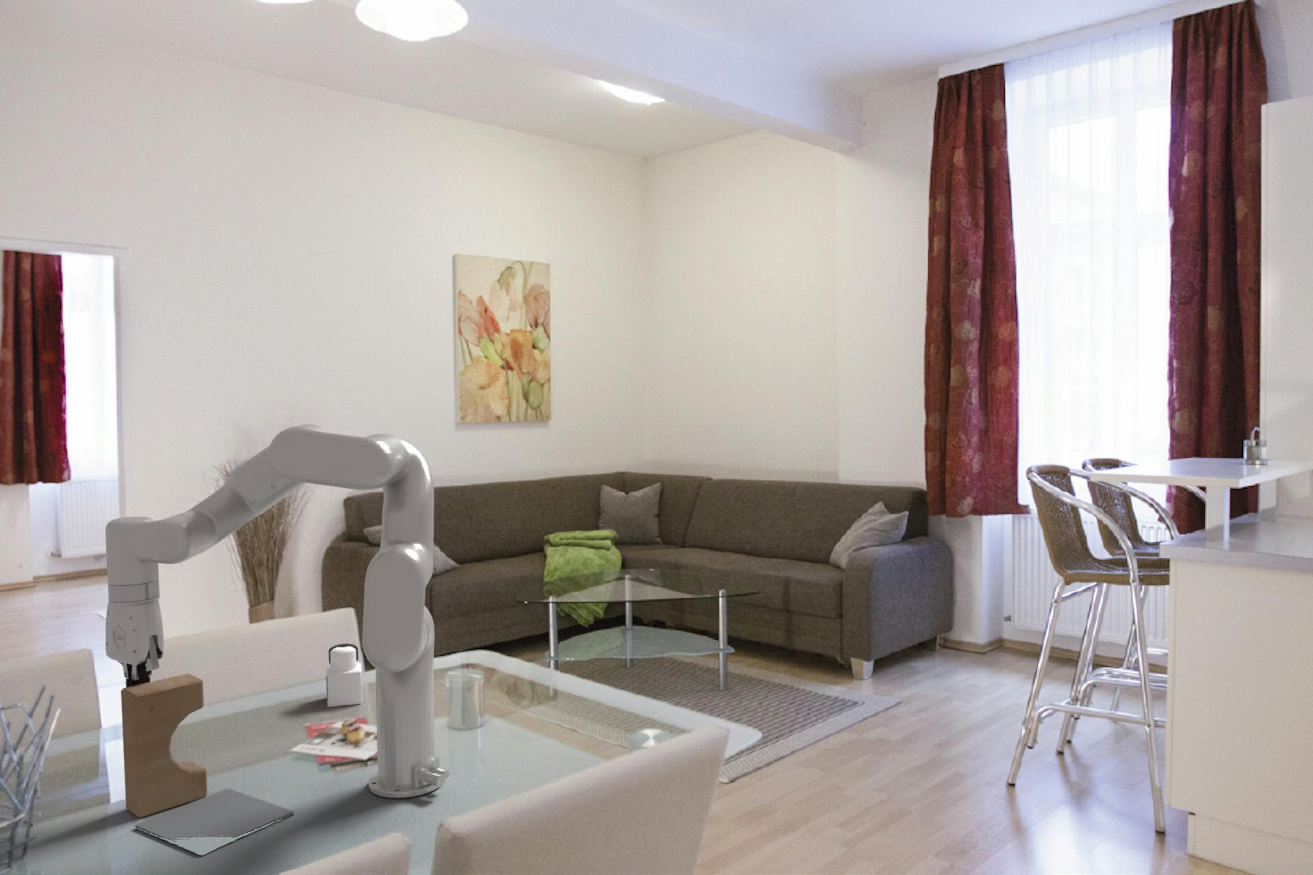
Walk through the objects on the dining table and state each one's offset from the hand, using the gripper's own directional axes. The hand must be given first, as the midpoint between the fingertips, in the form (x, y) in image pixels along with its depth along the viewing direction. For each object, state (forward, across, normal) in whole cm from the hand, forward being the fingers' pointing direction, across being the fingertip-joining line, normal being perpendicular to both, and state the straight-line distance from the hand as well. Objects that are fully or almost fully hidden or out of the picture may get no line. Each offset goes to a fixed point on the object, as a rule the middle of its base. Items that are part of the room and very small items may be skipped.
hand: (139, 700), depth 166 cm
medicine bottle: (+16, -9, +50) cm, 53 cm away
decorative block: (+16, +7, 0) cm, 18 cm away
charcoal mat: (+16, +20, 0) cm, 26 cm away
